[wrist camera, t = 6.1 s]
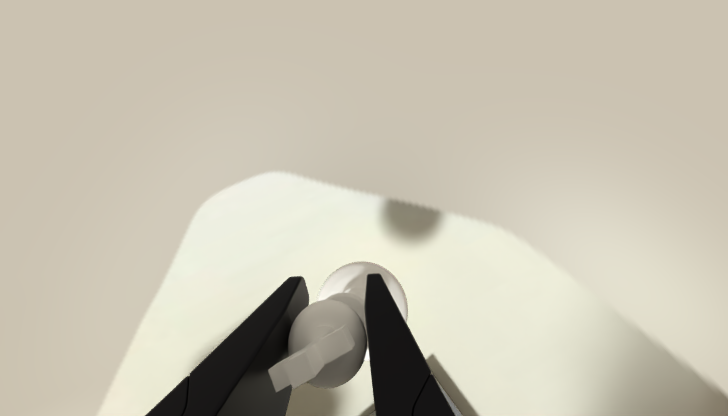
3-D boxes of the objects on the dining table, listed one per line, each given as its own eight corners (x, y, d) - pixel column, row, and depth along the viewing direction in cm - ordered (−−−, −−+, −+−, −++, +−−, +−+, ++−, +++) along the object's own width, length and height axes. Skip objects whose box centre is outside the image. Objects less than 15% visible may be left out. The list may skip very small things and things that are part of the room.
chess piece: (302, 288, 15) (138, 306, 5) (379, 246, 15) (357, 187, 5) (342, 377, 13) (217, 627, 4) (425, 329, 14) (508, 451, 4)
